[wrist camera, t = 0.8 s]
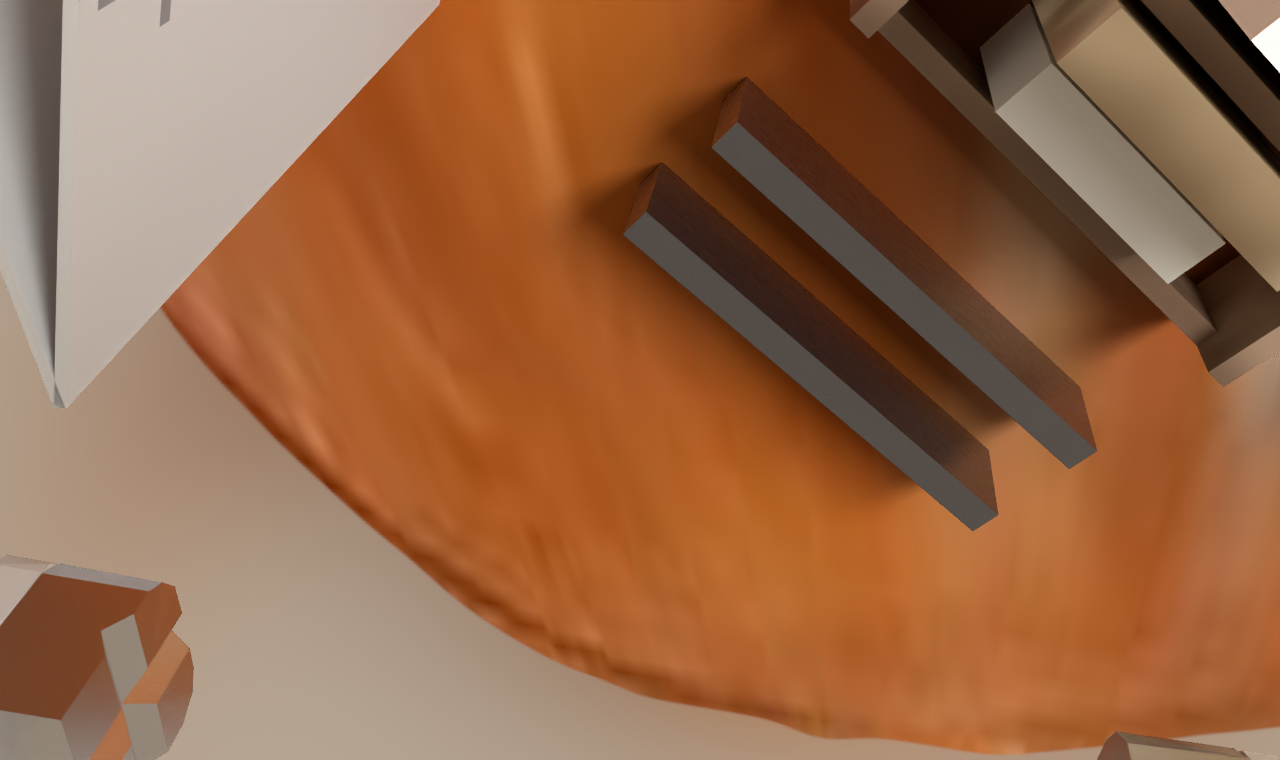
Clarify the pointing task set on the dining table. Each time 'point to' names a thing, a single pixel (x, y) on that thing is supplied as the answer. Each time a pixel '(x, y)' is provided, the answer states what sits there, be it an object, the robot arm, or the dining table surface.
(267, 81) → the brochure
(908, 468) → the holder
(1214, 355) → the rack
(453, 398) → the dining table surface
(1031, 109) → the offcut short
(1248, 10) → the cream rectangular board
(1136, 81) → the offcut tall
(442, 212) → the dining table surface
